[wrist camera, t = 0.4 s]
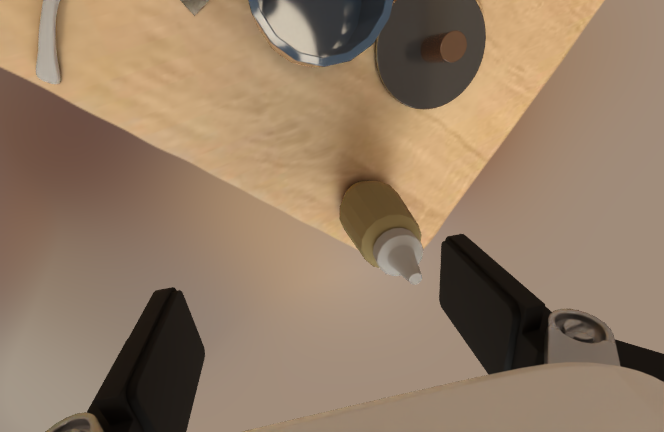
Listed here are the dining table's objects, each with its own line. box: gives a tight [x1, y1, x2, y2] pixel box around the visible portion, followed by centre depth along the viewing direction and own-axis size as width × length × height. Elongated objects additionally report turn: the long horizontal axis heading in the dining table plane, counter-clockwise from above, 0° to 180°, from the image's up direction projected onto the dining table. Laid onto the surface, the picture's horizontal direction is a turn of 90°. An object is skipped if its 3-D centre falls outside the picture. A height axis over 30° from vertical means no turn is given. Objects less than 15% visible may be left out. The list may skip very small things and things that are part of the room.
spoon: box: [36, 0, 61, 84], centre depth 30 cm, size 3×12×2 cm, turn 156°
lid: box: [376, 0, 486, 109], centre depth 34 cm, size 13×13×6 cm
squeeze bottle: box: [340, 181, 423, 284], centre depth 35 cm, size 8×8×18 cm
